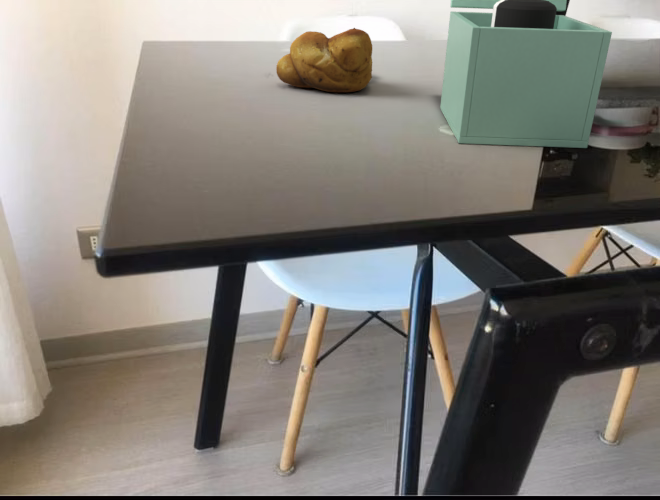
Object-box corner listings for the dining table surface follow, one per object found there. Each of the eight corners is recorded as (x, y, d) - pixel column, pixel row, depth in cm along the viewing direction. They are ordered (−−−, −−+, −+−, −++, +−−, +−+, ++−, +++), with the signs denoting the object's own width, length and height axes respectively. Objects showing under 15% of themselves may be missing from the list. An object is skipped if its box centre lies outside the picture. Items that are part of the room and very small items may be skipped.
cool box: (587, 148, 61) (612, 31, 56) (458, 143, 61) (472, 27, 56) (546, 112, 74) (563, 15, 69) (440, 108, 74) (450, 11, 69)
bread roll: (266, 89, 80) (265, 23, 77) (292, 76, 89) (293, 16, 85) (363, 99, 77) (367, 30, 74) (381, 84, 85) (385, 22, 82)
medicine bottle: (554, 121, 67) (577, 0, 62) (519, 132, 62) (541, 3, 57) (496, 108, 72) (513, -5, 66) (460, 118, 67) (474, -3, 62)
